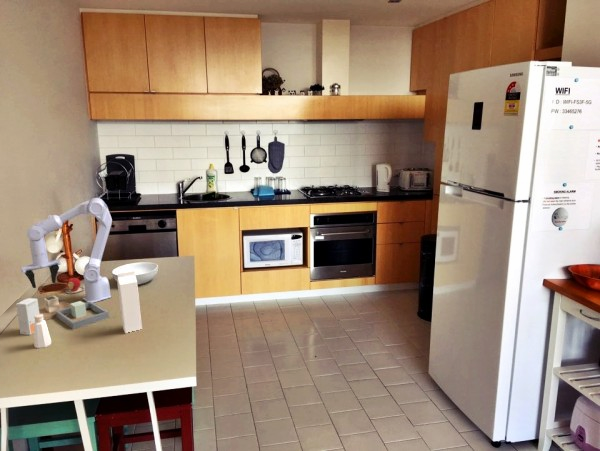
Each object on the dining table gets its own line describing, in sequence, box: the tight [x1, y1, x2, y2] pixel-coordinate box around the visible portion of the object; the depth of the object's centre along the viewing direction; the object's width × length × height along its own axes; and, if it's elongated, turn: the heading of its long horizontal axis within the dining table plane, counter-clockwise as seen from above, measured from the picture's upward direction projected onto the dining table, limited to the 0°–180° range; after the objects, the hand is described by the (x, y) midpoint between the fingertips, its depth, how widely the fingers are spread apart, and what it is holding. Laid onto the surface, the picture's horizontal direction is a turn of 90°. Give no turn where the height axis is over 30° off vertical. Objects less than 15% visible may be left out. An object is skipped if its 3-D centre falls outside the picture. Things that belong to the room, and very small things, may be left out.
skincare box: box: [15, 297, 40, 336], centre depth 175 cm, size 6×4×12 cm
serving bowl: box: [111, 261, 159, 286], centre depth 227 cm, size 21×21×7 cm
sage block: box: [69, 300, 87, 319], centre depth 189 cm, size 4×4×5 cm
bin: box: [56, 301, 110, 330], centre depth 187 cm, size 14×17×2 cm
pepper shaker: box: [33, 314, 52, 349], centre depth 164 cm, size 5×5×11 cm
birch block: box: [43, 295, 60, 313], centre depth 192 cm, size 4×4×5 cm
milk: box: [116, 271, 143, 334], centre depth 173 cm, size 6×6×22 cm
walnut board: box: [39, 300, 71, 321], centre depth 193 cm, size 14×12×1 cm
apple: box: [64, 277, 85, 294], centre depth 217 cm, size 8×8×6 cm
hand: (44, 284), depth 198 cm, fingers open, 7 cm apart
